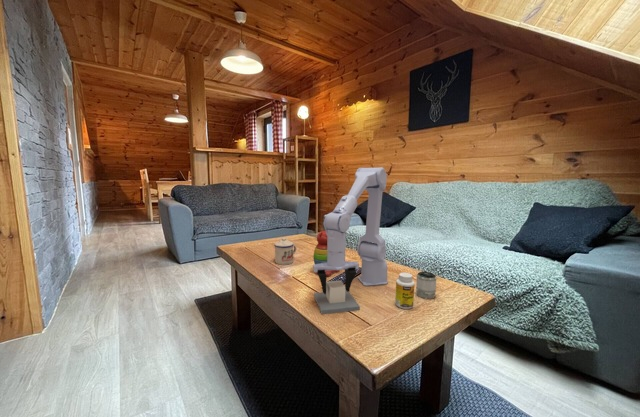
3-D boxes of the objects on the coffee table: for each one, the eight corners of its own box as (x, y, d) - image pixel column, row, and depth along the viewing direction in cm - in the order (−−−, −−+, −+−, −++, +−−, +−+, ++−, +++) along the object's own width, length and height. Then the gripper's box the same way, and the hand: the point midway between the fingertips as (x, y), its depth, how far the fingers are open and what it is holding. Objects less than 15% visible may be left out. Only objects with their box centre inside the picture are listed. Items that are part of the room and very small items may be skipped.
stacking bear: (327, 278, 106) (327, 235, 103) (307, 272, 112) (307, 231, 109) (341, 270, 114) (342, 230, 112) (323, 265, 120) (323, 227, 118)
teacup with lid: (282, 266, 119) (282, 241, 117) (270, 262, 125) (270, 238, 123) (302, 260, 127) (302, 237, 126) (289, 256, 134) (289, 234, 132)
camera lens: (430, 301, 86) (431, 278, 85) (412, 295, 91) (413, 273, 90) (438, 295, 91) (439, 273, 90) (420, 289, 95) (422, 268, 94)
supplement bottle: (400, 310, 80) (402, 278, 79) (391, 302, 86) (393, 272, 84) (417, 308, 82) (418, 277, 80) (407, 300, 87) (408, 270, 86)
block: (340, 294, 88) (340, 280, 87) (345, 301, 83) (345, 286, 83) (326, 296, 87) (326, 281, 86) (329, 303, 82) (330, 288, 82)
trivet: (347, 293, 92) (347, 289, 92) (359, 310, 80) (359, 306, 80) (314, 296, 90) (314, 292, 89) (321, 314, 78) (321, 310, 78)
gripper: (316, 255, 77) (316, 299, 79) (362, 252, 80) (361, 294, 82) (312, 249, 84) (312, 289, 86) (354, 246, 87) (354, 285, 89)
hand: (335, 291), depth 85 cm, fingers open, 7 cm apart
